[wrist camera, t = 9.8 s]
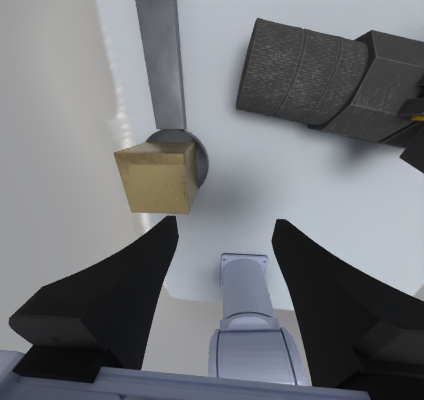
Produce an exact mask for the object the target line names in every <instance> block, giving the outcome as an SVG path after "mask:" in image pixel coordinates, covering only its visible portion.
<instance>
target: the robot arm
mask: <svg viewBox="0 0 424 400" xmlns="http://www.w3.org/2000/svg"><path fill="white" fill-rule="evenodd" d="M178 239H179V235H178V228H177V222H176V216H166V217H165V218H164V219H163V220H161V221H160V222H159V223H158V224H157V225H155V226H154V227H153V228H152V229H150V230H149V231H148V232H147V233H145V234H144V235H143V236H141V237H140V238H138V239H137V240H136V241H134V242H133V243H132V244H130V245H129V246H127V247H125V248H124V249H122V250H121V251H119V252H117V253H115V254H113V255H112V256H110V257H108V258H106V259H104V260H102V261H101V262H99V263H97V264H95V265H92V266H90V267H88V268H86V269H84V270H82V271H80V272H77V273H75V274H73V275H71V276H68V277H66V278H63V279H61V280H58V281H56V282H53V283H51V284H48V285H46V286H43V287H42V288H41V289H40V290H39V291H37V292H36V293H35V294H34V296H32V297H31V298H30V299H29V300H28V301H27V302H26V303H25V304H24V305H23V306H22V307H21V308H19V309H18V310H17V311H16V312H15V313H14V314H13V315H12V316H11V317H10V318H9V325H10V327H11V329H13V330H14V331H15V332H16V333H17V334H19V335H20V336H22V337H23V338H24V339H26V340H27V341H28V342H30V343H31V344H33V346H32V347H31V348H30V350H29V351H28V352H27V353H26V354H24V353H21V352H17V351H7V350H0V400H424V301H421V300H419V299H417V298H415V297H412V296H410V295H408V294H406V293H404V292H401V291H399V290H397V289H395V288H393V287H391V286H389V285H387V284H385V283H383V282H381V281H379V280H377V279H375V278H373V277H371V276H369V275H367V274H365V273H364V272H362V271H360V270H358V269H356V268H354V267H353V266H351V265H349V264H348V263H346V262H344V261H343V260H341V259H339V258H338V257H336V256H335V255H333V254H331V253H330V252H328V251H327V250H326V249H324V248H323V247H321V246H320V245H318V244H317V243H316V242H314V241H313V240H312V239H310V238H309V237H308V236H306V235H305V234H304V233H303V232H301V231H300V230H299V229H297V228H296V227H295V226H294V225H292V224H291V223H290V222H289V221H287V220H286V219H277V220H276V224H275V228H274V232H273V236H272V240H271V242H272V246H273V250H274V254H275V257H276V259H277V262H278V264H279V267H280V269H281V272H282V274H283V277H284V279H285V282H286V284H287V287H288V290H289V293H290V296H291V299H292V303H293V306H294V310H295V313H296V317H297V321H298V324H299V328H300V333H301V336H302V341H303V345H304V349H305V353H306V358H307V362H308V367H309V371H310V376H311V381H312V386H313V387H312V386H308V383H307V379H306V375H305V372H304V368H303V364H302V361H301V357H300V354H299V351H298V348H297V346H296V343H295V340H294V338H293V336H292V334H291V333H290V332H289V331H288V330H287V329H286V328H285V327H280V326H279V322H278V319H277V318H275V316H274V312H273V308H272V304H271V300H270V296H269V292H268V289H267V285H266V281H265V277H264V274H265V270H266V266H267V262H268V257H267V256H253V255H231V254H223V255H222V256H221V285H220V287H221V288H223V320H221V321H220V329H216V330H215V332H214V334H213V335H212V337H211V341H210V347H209V359H208V360H209V361H208V373H209V377H205V376H195V375H184V374H173V373H162V372H152V371H141V368H142V363H143V359H144V354H145V350H146V345H147V341H148V337H149V333H150V329H151V325H152V320H153V316H154V313H155V309H156V305H157V301H158V298H159V294H160V291H161V287H162V284H163V281H164V279H165V276H166V273H167V271H168V268H169V266H170V263H171V261H172V258H173V256H174V253H175V250H176V247H177V243H178Z"/></svg>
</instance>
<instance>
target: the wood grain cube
mask: <svg viewBox="0 0 424 400" xmlns="http://www.w3.org/2000/svg"><path fill="white" fill-rule="evenodd" d="M114 156H115V160H116V163H117V166H118V169H119V173H120V176H121V179H122V182H123V186H124V189H125V192H126V195H127V199H128V202H129V205H130V208H131V212H139V213H169V214H189V212H190V209H191V207H192V204H193V201H194V198H195V195H196V192H197V189H198V177H197V158H196V142H145V143H142V144H139V145H136V146H133V147H130V148H127V149H124V150H121V151H118V152H115V153H114Z"/></svg>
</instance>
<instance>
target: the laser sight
mask: <svg viewBox="0 0 424 400" xmlns="http://www.w3.org/2000/svg"><path fill="white" fill-rule="evenodd" d="M236 109H241V110H246V111H250V112H255V113H260V114H265V115H268V116H270V115H271V116H274V117H279V118H284V119H288V120H292V121H297V122H303V123H308V128H309V129H314V130H319V131H323V132H328V133H333V134H338V135H342V136H347V137H352V138H357V139H362V140H366V141H371V142H376V143H381V144H386V145H390V146H395V147H400V148H405V150H404V152H403V153H402V154H401V155H400V157H399V158H401V159H402V160H404V161H405V162H407V163H408V164H410V165H412V166H413V167H415V168H416V169H418V170H419V171H421V172H422V173H424V42H421V41H417V40H412V39H408V38H404V37H399V36H395V35H391V34H386V33H382V32H378V31H374V30H371V31H369V32H367V33H366V34H364V35H362V36H360V37H359V38H357V39H355V40H349V39H345V38H342V37H339V36H334V35H328V34H323V33H319V32H315V31H311V30H308V29H302V28H299V27H293V26H288V25H284V24H279V23H275V22H271V21H267V20H263V19H260V18H257V19H256V22H255V25H254V28H253V32H252V35H251V39H250V43H249V47H248V51H247V55H246V59H245V63H244V68H243V72H242V77H241V81H240V86H239V91H238V96H237V102H236Z"/></svg>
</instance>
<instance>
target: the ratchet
mask: <svg viewBox="0 0 424 400" xmlns="http://www.w3.org/2000/svg"><path fill="white" fill-rule="evenodd" d="M135 1H136V7H137V13H138V19H139V25H140V31H141V37H142V43H143V49H144V55H145V61H146V68H147V74H148V80H149V86H150V92H151V98H152V104H153V110H154V116H155V122H156V128H157V129H165V130H161V131H158V132H156V133H154V134H153V135H151V136H150V137H149V138H148V139H147V141H146V142H196V158H197V177H198V188H199V187H200V186H201V185H202V184H203V182H204V180H205V178H206V175H207V172H208V166H209V161H208V155H207V152H206V149H205V147H204V146H203V144H202V143H201V141H200V140H199V139H198V138H197V137H196V136H194V135H193V134H192V133H190V132H188V131H185V130H183V129H186V115H185V102H184V89H183V76H182V64H181V51H180V38H179V25H178V12H177V0H135Z"/></svg>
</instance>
